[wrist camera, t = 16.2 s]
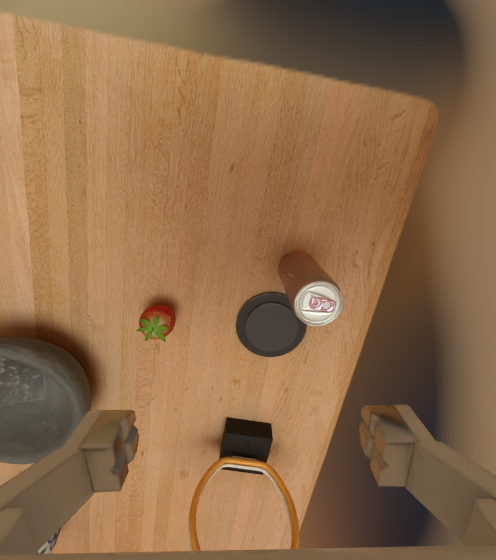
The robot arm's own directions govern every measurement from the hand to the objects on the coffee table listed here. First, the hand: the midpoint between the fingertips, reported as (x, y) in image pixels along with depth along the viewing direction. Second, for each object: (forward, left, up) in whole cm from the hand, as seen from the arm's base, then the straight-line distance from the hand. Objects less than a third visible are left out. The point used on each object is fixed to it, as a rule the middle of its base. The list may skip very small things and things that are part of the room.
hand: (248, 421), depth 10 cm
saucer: (-4, +15, -37) cm, 40 cm away
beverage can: (-8, +5, -37) cm, 38 cm away
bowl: (+37, +24, -37) cm, 58 cm away
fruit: (+14, +12, -37) cm, 42 cm away
